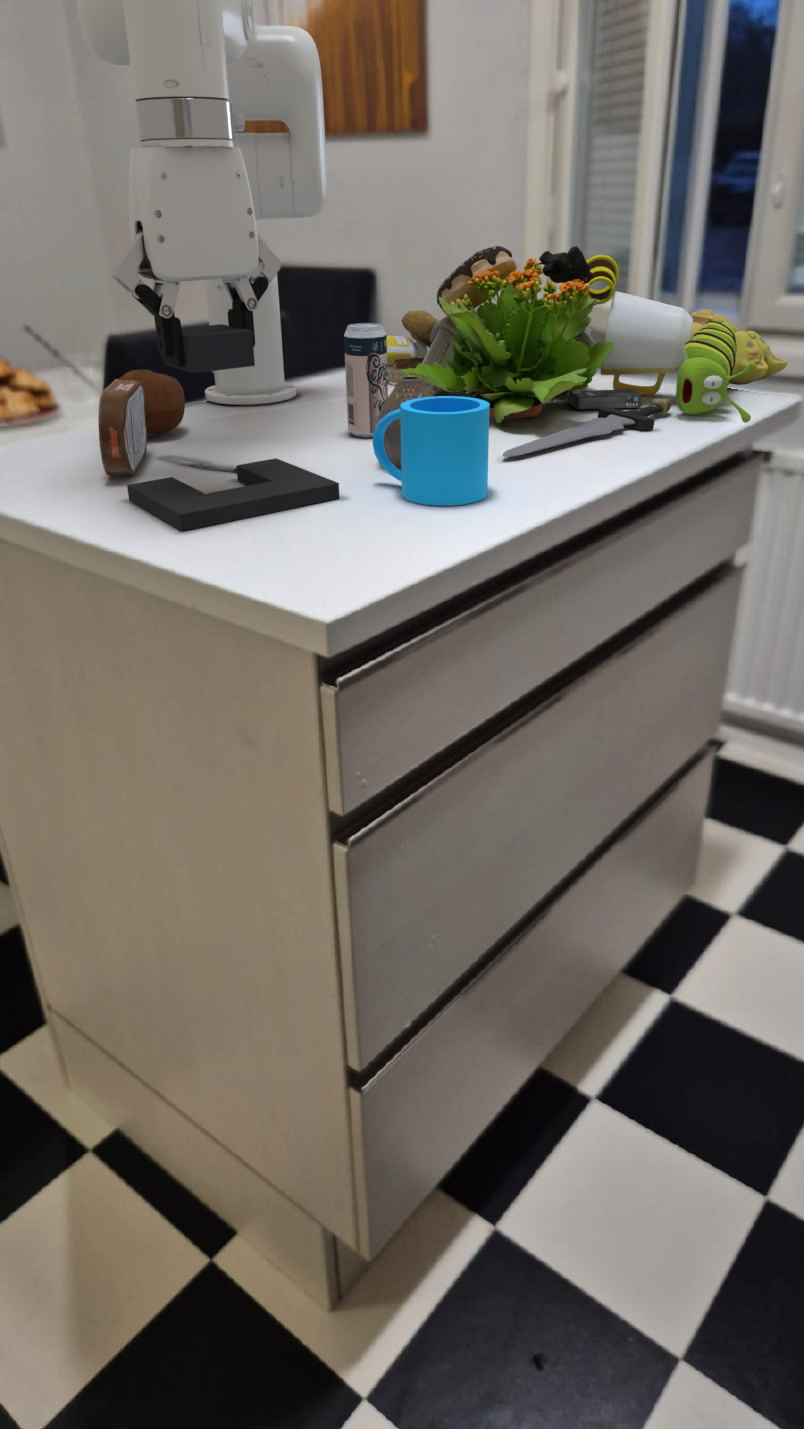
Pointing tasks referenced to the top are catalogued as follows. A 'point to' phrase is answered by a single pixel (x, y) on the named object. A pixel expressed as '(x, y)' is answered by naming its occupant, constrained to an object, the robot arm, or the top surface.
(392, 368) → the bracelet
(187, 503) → the base pad
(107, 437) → the tin
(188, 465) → the knife
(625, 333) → the mug
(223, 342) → the small pad
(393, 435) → the vase
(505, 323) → the potted flower
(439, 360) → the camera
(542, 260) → the toy gun
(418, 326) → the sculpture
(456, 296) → the donut
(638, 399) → the mini dv tape
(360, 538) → the top surface
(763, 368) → the figurine
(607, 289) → the opera glasses
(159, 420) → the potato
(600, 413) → the dagger
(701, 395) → the toy
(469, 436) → the mug
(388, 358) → the supplement bottle
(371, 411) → the beer can
